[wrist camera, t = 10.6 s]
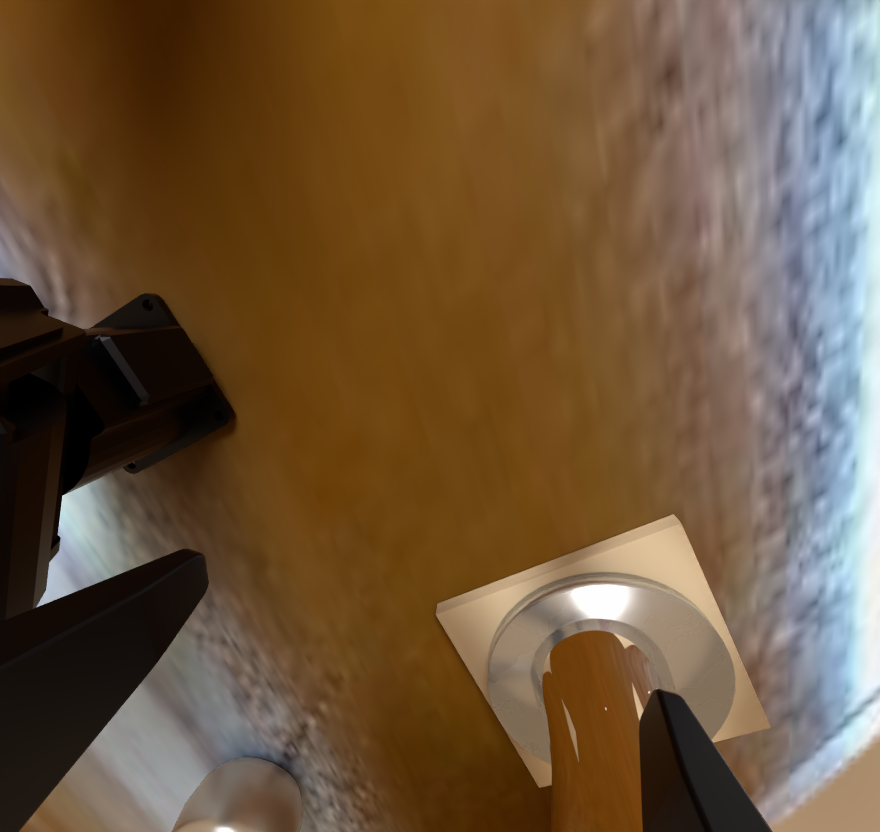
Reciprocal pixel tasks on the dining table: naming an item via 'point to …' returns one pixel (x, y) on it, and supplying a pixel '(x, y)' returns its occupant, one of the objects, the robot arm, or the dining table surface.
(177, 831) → the plastic bottle
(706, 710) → the flange
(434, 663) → the dining table surface
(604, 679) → the beer glass
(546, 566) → the base plate
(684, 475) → the dining table surface
